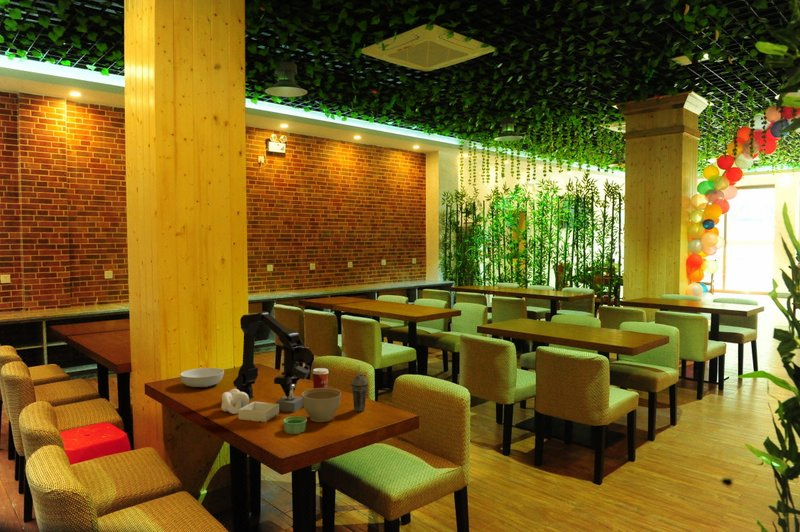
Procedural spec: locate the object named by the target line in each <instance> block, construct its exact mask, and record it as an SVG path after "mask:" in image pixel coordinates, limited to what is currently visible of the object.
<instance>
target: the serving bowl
mask: <svg viewBox="0 0 800 532" xmlns="http://www.w3.org/2000/svg"><path fill="white" fill-rule="evenodd" d="M224 374H225V370H224V369H222V368H219V367H218V368H217V367H200V368H199V367H198V368H193V369H188V370H184V371H182V372H181V373H180V374H179V376H180V377H179V378H180V381H181V382H182V383H183V384H184V385H186V386H187V387H190V388H195V387H205V388H208V386H209V387H211V386H214V385H217V384H218V383H220V382H221V381H222V379H223V377H224Z"/></svg>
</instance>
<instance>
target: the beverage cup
mask: <svg viewBox="0 0 800 532" xmlns="http://www.w3.org/2000/svg"><path fill="white" fill-rule="evenodd" d="M357 367H358V368H357V369H358V374H357V375H355V376H354V377H353V379H352V381H351V389H352V402H353V410H354V412H356V411H359V412H358V413H361V412H360V411H363V412H365V408H366V401H367V400H366V398H367V389H368V387H369V386H368V385H369V382H368V380H367V378H366V376H365V375H362V374H360V373H361V372H360V365H358V366H357Z"/></svg>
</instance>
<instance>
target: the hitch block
mask: <svg viewBox="0 0 800 532" xmlns="http://www.w3.org/2000/svg"><path fill="white" fill-rule="evenodd" d="M286 398H287V397H286V395H284V396H282V397H281V398H278V399H277V400H275V404H279V410H282V411H281V412H288V411H291V412H290V413H296V412H298V411H299V410H300V409H302V408H304V406H303V399H302V396H294V395H293V401H288V400H286ZM301 407H302V408H301ZM298 409H299V410H298ZM295 411H296V412H295Z"/></svg>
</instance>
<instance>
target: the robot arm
mask: <svg viewBox="0 0 800 532" xmlns="http://www.w3.org/2000/svg"><path fill="white" fill-rule="evenodd" d="M239 323H240V329H241V330H242V333H243V345H242V364H241V365H240V368H238V369H239V370H238V372H237V373H238V374H237V376H236V378H235V379H234V381H233V382H232V384H233V387H235V388H236V389H238V390H239V391H240V392H244V393H246V394H247V395H248V397H249V400H251V399H253V398H254V397H255V396H254V392H253V391H254V388H253V385H255V383H256V380H257V379H258V377H259V367H256V365H255V361H254V360H255V343H256V339H255V337H256V332H257V331H258V329H259V327H260V323H262V324H263V325H265V326H266V327H267V328H268V329H270V331H271V332H273V333H274V334H275V335H276V336H277V338H278V340H279V342H280V343H281V344H282V346H281V347H279V349H280V350H281V351H282V350H283V362H282V363H281V366H282V367H283V372H281V375H277V376H276V377H274V379H273V384H274V385H279V386H280V387H281V389H282V391H283V393H284V396H286V397H289V394H290V386H291V384H292V383H294V384H295V388H294V390H293V395H294V394H295V391H296V387H297V384H298V382H299V381H300V380H301V379H302V380H305V379H307V378H308V377H309V374H311V369H310V365H308V364H310V363H311V362H312V360H313V356H314V355H313V353H312V351H311V349H310V347H309V346H305V345H304V342H303V341H302V339H301V337H300V334H299V333H298V332H297V331H296V330H294V329H292V328H288V327H286V326H285V325H284V324H282V323H281V322H279V321H278V320H277V319H275V318H274V317H273V316H272V315H271V314H270V313H269V312H268V311H260V312H258V313H248V314H243V315H241V317H240V322H239ZM300 363H302V364H307V365H305V366H300Z"/></svg>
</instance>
